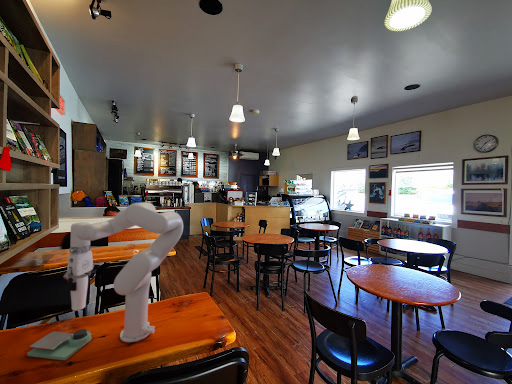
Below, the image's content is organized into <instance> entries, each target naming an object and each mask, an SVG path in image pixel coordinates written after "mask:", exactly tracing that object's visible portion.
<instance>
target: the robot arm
mask: <svg viewBox="0 0 512 384" xmlns="http://www.w3.org/2000/svg"><path fill="white" fill-rule="evenodd" d="M135 226H136V227H138V228H141V229H143V230H145V231H148V232H150V233H153V234H156V235H157V234H158V236H157V237H156V238H155V240H154V241H153V242H152V243H151V245H149V247H147V248H146V249H144V250H142V251H140V252H138V253H136V254H134V255H133V256H132V257H130V259H129V260H128V261H127V263H126V264H125V265H124V266H123V268H121V270H119V272H118V274H117V275H116V276H115V278H114V281H113V289H114V291H115V292H116V294H118V295H120V296H125V298H124V299H125V301H124V322H123V329H122V330H121V331H120V333H119V339H120V341H121V342H124V343H135V342H139V341H142V340H143V339H145V338H147V337H148V336H149V335H150V334H152V335H153V334H155V330H156V326H155V325H151V324H150V321H148V319H149V318H148V317H149V316H148V315H149V296H150V288H151V287H150V286H151V282H152V272H153V271H154V270H156V269H157V268H159V267H160V265H161V264H162V263H163V262H164V260H165V259H166V258H167V257H168V255H169V254H170V253H171V251H172V250H173V249H174V247H175V246H176V245H177V244H178V242H179V241H180V239H181V237H182V235H183V232H184V221H183V219H182V217H181V215H180V214H179V213H178V212H175V211H165V212H160V213H159V212H157V209H156V207H155V205H154V204H152V203H151V202H145V201H144V202H135V203H130V205H128V206H127V207H126V208H125V209H123V210H120V211H119V212H117V213H116V214H115V217H113V218H111V219H108V220H105V221H99V222H94V223H89V222H74V223H72V224H71V226H70V244H69V245H70V247H69V255H68V258H67V269H66V272H65V273H64V275H63V279H64V280H65V281H66V282H67V283H68V291H76V287H77V282H75V281H76V278H77V276H80V275H82V274H87V275H88V285H90V283H91V276H92V272H93V269H94V267H95V264H94V258H93V252H92V249H91V241H92V242H93V241H96V240H99V239H103V238H107V237H110V236H113V235H116V234H118V233H121V232H123V231H126V230H128V229H131V228H133V227H135ZM73 276H74V278H73V279H72V277H73Z"/></svg>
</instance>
